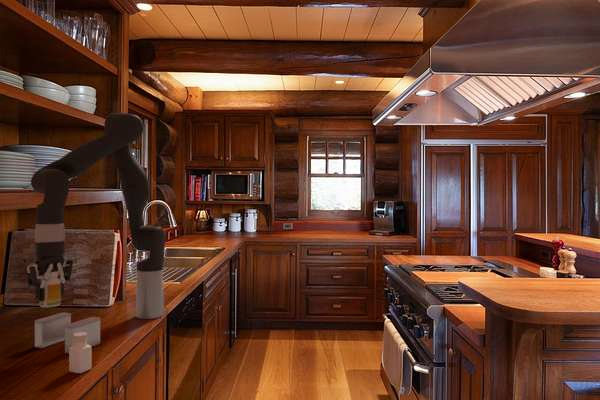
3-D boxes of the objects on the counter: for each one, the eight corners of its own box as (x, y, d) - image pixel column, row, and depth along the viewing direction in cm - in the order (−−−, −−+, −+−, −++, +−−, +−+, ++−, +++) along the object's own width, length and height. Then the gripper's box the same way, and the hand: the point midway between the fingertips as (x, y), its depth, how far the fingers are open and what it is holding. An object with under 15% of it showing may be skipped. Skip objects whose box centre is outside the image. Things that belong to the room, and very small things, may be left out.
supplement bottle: (64, 303, 132) (64, 269, 132) (54, 307, 127) (55, 273, 127) (45, 303, 132) (45, 269, 132) (35, 307, 127) (35, 273, 127)
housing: (63, 336, 143) (63, 312, 143) (100, 343, 138) (100, 317, 138) (34, 346, 134) (34, 320, 134) (73, 354, 129) (73, 326, 128)
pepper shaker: (68, 372, 116) (68, 335, 116) (81, 366, 120) (81, 330, 119) (79, 374, 114) (79, 337, 114) (92, 369, 118) (92, 332, 118)
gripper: (62, 236, 137) (62, 292, 138) (16, 241, 124) (16, 303, 124) (80, 237, 134) (80, 294, 135) (36, 242, 121) (36, 306, 121)
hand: (50, 298), depth 130 cm, fingers closed on supplement bottle, 5 cm apart
